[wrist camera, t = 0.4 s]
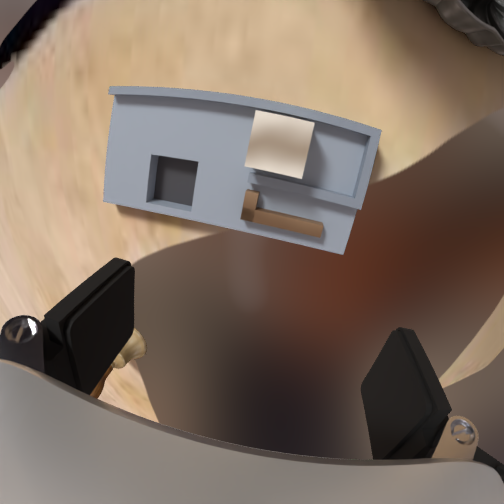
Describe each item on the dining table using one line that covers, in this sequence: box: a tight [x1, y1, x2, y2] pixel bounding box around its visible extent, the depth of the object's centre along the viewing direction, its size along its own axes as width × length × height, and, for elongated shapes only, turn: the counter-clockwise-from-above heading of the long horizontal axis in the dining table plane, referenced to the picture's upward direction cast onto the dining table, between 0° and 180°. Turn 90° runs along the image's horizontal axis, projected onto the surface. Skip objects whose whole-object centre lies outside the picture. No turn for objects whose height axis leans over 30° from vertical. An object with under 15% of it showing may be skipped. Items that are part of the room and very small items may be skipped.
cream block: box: [245, 110, 314, 179], centre depth 28 cm, size 6×6×4 cm
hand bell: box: [90, 328, 147, 399], centre depth 40 cm, size 8×8×16 cm
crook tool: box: [240, 189, 324, 238], centre depth 32 cm, size 3×9×1 cm, turn 79°
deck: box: [103, 86, 381, 255], centre depth 32 cm, size 15×31×4 cm, turn 79°
